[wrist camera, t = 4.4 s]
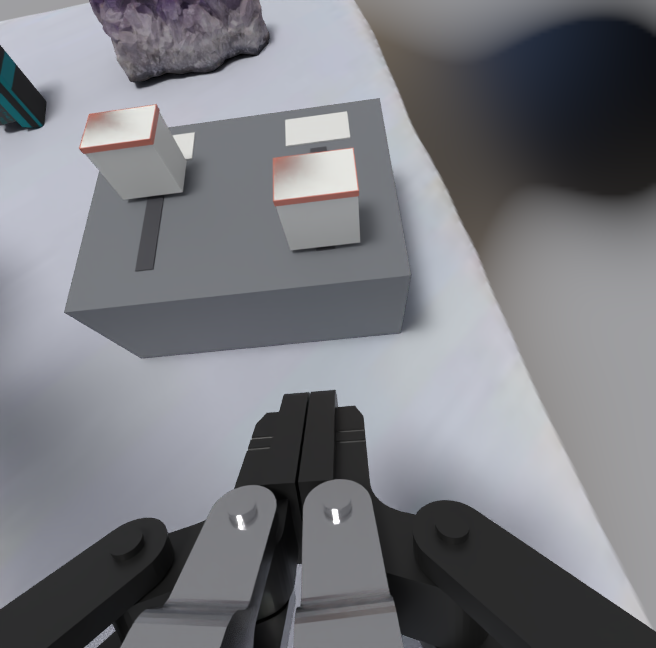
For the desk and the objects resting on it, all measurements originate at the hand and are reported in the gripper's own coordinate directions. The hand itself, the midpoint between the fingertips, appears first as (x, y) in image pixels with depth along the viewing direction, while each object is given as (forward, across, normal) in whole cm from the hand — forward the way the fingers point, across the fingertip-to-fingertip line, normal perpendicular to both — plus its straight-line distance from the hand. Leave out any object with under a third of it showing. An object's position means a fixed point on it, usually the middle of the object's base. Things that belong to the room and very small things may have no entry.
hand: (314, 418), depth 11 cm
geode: (+50, +16, -24) cm, 57 cm away
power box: (+25, +6, 0) cm, 26 cm away
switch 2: (+16, 0, -3) cm, 16 cm away
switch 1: (+20, +12, -8) cm, 25 cm away
